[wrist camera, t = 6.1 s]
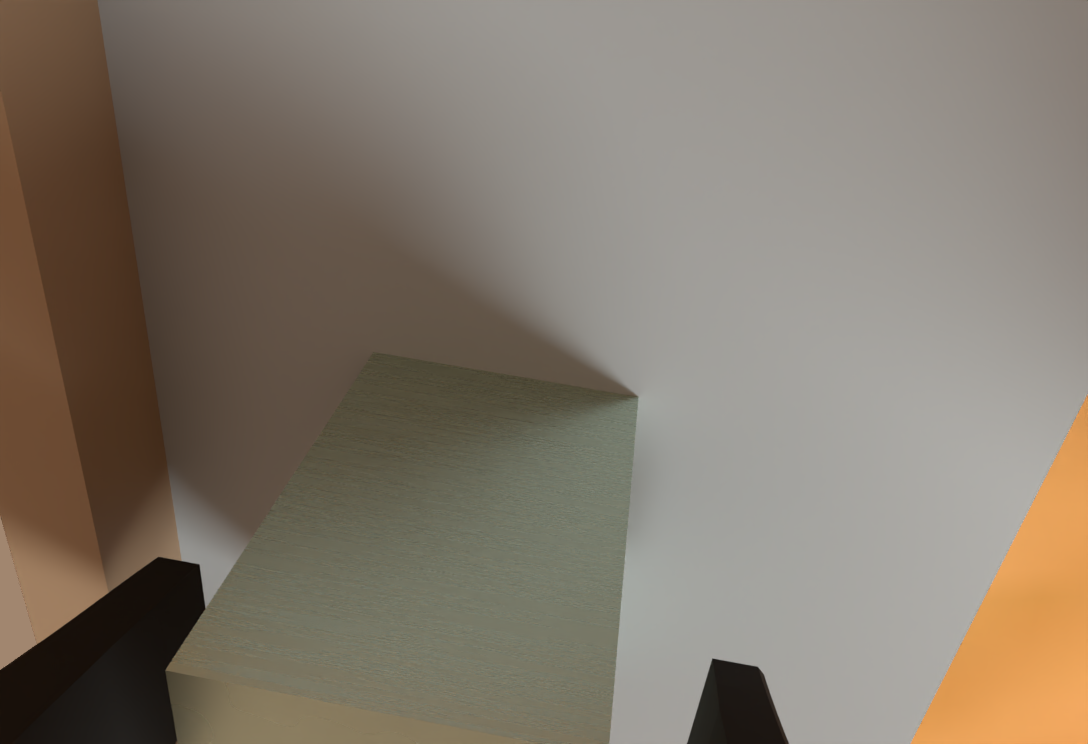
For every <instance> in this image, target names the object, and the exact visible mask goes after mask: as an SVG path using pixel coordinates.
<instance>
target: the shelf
mask: <svg viewBox="0 0 1088 744" xmlns="http://www.w3.org/2000/svg"><path fill="white" fill-rule="evenodd" d="M373 352H375V353H381V354H387V355H393V356H399V357H405V358H411V359H417V360H423V361H429V362H435V363H441V364H447V365H453V366H459V367H465V368H471V369H476V370H482V371H488V372H494V373H500V374H506V375H512V376H518V377H524V378H530V379H536V380H542V381H548V382H554V383H560V384H566V385H572V386H578V387H584V388H589V389H595V390H601V391H607V392H613V393H619V394H625V395H631V396H637V397H639V398H638V410H637V422H636V433H635V445H634V457H633V469H632V481H631V493H630V504H629V516H628V528H627V540H626V552H625V564H624V575H623V587H622V599H621V611H620V623H619V634H618V646H617V658H616V670H615V682H614V694H613V705H612V717H611V729H610V741H609V744H687V742H688V738H689V735H690V732H691V728H692V725H693V722H694V718H695V715H696V712H697V708H698V705H699V701H700V698H701V695H702V691H703V688H704V685H705V681H706V678H707V675H708V671H709V668H710V665H711V661H712V658H713V659H719V660H724V661H729V662H735V663H740V664H746V665H751V666H757V667H759V669H760V670H761V671H762V673H763V674H764V676H765V679H766V682H767V685H768V688H769V691H770V694H771V697H772V700H773V703H774V706H775V708H776V711H777V714H778V716H779V719H780V722H781V724H782V727H783V730H784V732H785V735H786V737H787V740H788V742H789V744H910V743H911V741H912V739H913V737H914V735H915V733H916V731H917V729H918V727H919V726H920V724H921V722H922V720H923V718H924V716H925V714H926V712H927V710H928V708H929V706H930V704H931V702H932V700H933V698H934V696H935V694H936V692H937V690H938V688H939V686H940V684H941V682H942V680H943V678H944V676H945V674H946V672H947V670H948V668H949V666H950V664H951V662H952V660H953V658H954V657H955V655H956V653H957V651H958V649H959V647H960V645H961V643H962V641H963V639H964V637H965V635H966V633H967V631H968V629H969V627H970V625H971V623H972V621H973V619H974V617H975V615H976V613H977V611H978V609H979V607H980V605H981V603H982V601H983V599H984V597H985V595H986V593H987V591H988V589H989V587H990V586H991V584H992V582H993V580H994V578H995V576H996V574H997V572H998V570H999V568H1000V566H1001V564H1002V562H1003V560H1004V558H1005V556H1006V554H1007V552H1008V550H1009V548H1010V546H1011V544H1012V542H1013V540H1014V538H1015V536H1016V534H1017V532H1018V530H1019V528H1020V526H1021V524H1022V522H1023V520H1024V518H1025V516H1026V515H1027V513H1028V511H1029V509H1030V507H1031V505H1032V503H1033V501H1034V499H1035V497H1036V495H1037V493H1038V491H1039V489H1040V487H1041V485H1042V483H1043V481H1044V479H1045V477H1046V475H1047V473H1048V471H1049V469H1050V467H1051V465H1052V463H1053V461H1054V459H1055V457H1056V455H1057V453H1058V451H1059V449H1060V447H1061V445H1062V444H1063V442H1064V440H1065V438H1066V436H1067V434H1068V432H1069V430H1070V428H1071V426H1072V424H1073V422H1074V420H1075V418H1076V416H1077V414H1078V412H1079V410H1080V408H1081V406H1082V404H1083V402H1084V400H1085V398H1086V396H1087V394H1088V0H0V516H1V520H2V523H3V527H4V530H5V534H6V537H7V541H8V544H9V548H10V551H11V555H12V558H13V562H14V565H15V569H16V572H17V576H18V579H19V583H20V587H21V590H22V594H23V597H24V600H25V604H26V608H27V611H28V614H29V618H30V622H31V625H32V628H33V632H34V636H35V639H36V642H37V644H38V643H40V642H41V641H42V640H44V639H45V638H47V637H48V636H49V635H51V634H52V633H54V632H55V631H57V630H58V629H59V628H61V627H62V626H63V625H65V624H66V623H68V622H69V621H70V620H72V619H73V618H74V617H76V616H77V615H79V614H80V613H81V612H83V611H84V610H85V609H87V608H88V607H90V606H91V605H92V604H94V603H95V602H96V601H98V600H99V599H100V598H102V597H103V596H105V595H106V594H107V593H109V592H110V591H111V590H113V589H114V588H115V587H117V586H118V585H119V584H121V583H122V582H124V581H125V580H126V579H128V578H129V577H130V576H132V575H133V574H135V573H136V572H137V571H139V570H140V569H142V568H143V567H144V566H146V565H147V564H149V563H150V562H151V561H153V560H154V559H156V558H157V557H163V558H168V559H174V560H179V561H185V562H190V563H195V564H200V571H201V579H202V586H203V593H204V601H205V608H206V607H207V606H208V604H209V603H210V601H211V600H212V598H213V597H214V595H215V593H216V592H217V590H218V589H219V587H220V586H221V584H222V583H223V581H224V580H225V578H226V577H227V575H228V574H229V572H230V571H231V569H232V568H233V566H234V564H235V563H236V561H237V560H238V558H239V557H240V555H241V554H242V552H243V551H244V549H245V548H246V546H247V545H248V543H249V542H250V540H251V538H252V537H253V535H254V534H255V532H256V531H257V529H258V528H259V526H260V525H261V523H262V522H263V520H264V519H265V517H266V516H267V514H268V513H269V511H270V509H271V508H272V506H273V505H274V503H275V502H276V500H277V499H278V497H279V496H280V494H281V493H282V491H283V490H284V488H285V487H286V485H287V484H288V482H289V480H290V479H291V477H292V476H293V474H294V473H295V471H296V470H297V468H298V467H299V465H300V464H301V462H302V461H303V459H304V458H305V456H306V454H307V453H308V451H309V450H310V448H311V447H312V445H313V444H314V442H315V441H316V439H317V438H318V436H319V435H320V433H321V432H322V430H323V429H324V427H325V425H326V424H327V422H328V421H329V419H330V418H331V416H332V415H333V413H334V412H335V410H336V409H337V407H338V406H339V404H340V403H341V401H342V399H343V398H344V396H345V395H346V393H347V392H348V390H349V389H350V387H351V386H352V384H353V383H354V381H355V380H356V378H357V377H358V375H359V374H360V372H361V370H362V369H363V367H364V366H365V364H366V363H367V361H368V360H369V358H370V357H371V355H372V354H373ZM175 744H178V742H176V743H175Z"/></svg>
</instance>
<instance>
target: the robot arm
mask: <svg viewBox="0 0 1088 744" xmlns="http://www.w3.org/2000/svg"><path fill="white" fill-rule="evenodd" d="M205 609H206V608H205V601H204V593H203V586H202V579H201V571H200V564H195V563H190V562H185V561H179V560H174V559H168V558H163V557H157V558H156V559H154V560H153V561H151V562H150V563H149V564H147V565H146V566H144V567H143V568H142V569H140V570H139V571H137V572H136V573H135V574H133V575H132V576H130V577H129V578H128V579H126V580H125V581H124V582H122V583H121V584H119V585H118V586H117V587H115V588H114V589H113V590H111V591H110V592H109V593H107V594H106V595H105V596H103V597H102V598H100V599H99V600H98V601H96V602H95V603H94V604H92V605H91V606H90V607H88V608H87V609H85V610H84V611H83V612H81V613H80V614H79V615H77V616H76V617H74V618H73V619H72V620H70V621H69V622H68V623H66V624H65V625H63V626H62V627H61V628H59V629H58V630H57V631H55V632H54V633H52V634H51V635H49V636H48V637H47V638H45V639H44V640H42V641H41V642H40V643H38V644H37V645H35V646H34V647H32V648H31V649H30V650H28V651H27V652H25V653H24V654H23V655H21V656H20V657H18V658H17V659H15V660H14V661H13V662H11V663H10V664H8V665H7V666H5V667H4V668H3V669H1V670H0V744H175V743H176V742H177V737H176V731H175V725H174V719H173V713H172V707H171V701H170V696H169V690H168V684H167V678H166V672H165V670H166V668H167V667H168V665H169V664H170V662H171V661H172V659H173V658H174V656H175V655H176V653H177V652H178V650H179V648H180V647H181V645H182V644H183V642H184V641H185V639H186V638H187V636H188V635H189V633H190V632H191V630H192V629H193V627H194V626H195V624H196V623H197V621H198V619H199V618H200V616H201V615H202V613H203V612H204V610H205ZM687 744H789V742H788V740H787V737H786V735H785V732H784V730H783V727H782V724H781V722H780V719H779V716H778V714H777V711H776V708H775V706H774V703H773V700H772V697H771V694H770V691H769V688H768V685H767V682H766V679H765V676H764V674H763V673H762V671H761V670H760V669H759V667H757V666H751V665H746V664H740V663H735V662H729V661H724V660H719V659H713V658H712V661H711V665H710V668H709V671H708V675H707V678H706V681H705V685H704V688H703V691H702V695H701V698H700V701H699V705H698V708H697V712H696V715H695V718H694V722H693V725H692V728H691V732H690V735H689V738H688V742H687Z"/></svg>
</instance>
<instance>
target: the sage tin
mask: <svg viewBox="0 0 1088 744" xmlns="http://www.w3.org/2000/svg"><path fill="white" fill-rule="evenodd" d="M638 398H639V397H637V396H631V395H625V394H619V393H613V392H607V391H601V390H595V389H589V388H584V387H578V386H572V385H566V384H560V383H554V382H548V381H542V380H536V379H530V378H524V377H518V376H512V375H506V374H500V373H494V372H488V371H482V370H476V369H471V368H465V367H459V366H453V365H447V364H441V363H435V362H429V361H423V360H417V359H411V358H405V357H399V356H393V355H387V354H381V353H375V352H373V354H372V355H371V357H370V358H369V360H368V361H367V363H366V364H365V366H364V367H363V369H362V370H361V372H360V374H359V375H358V377H357V378H356V380H355V381H354V383H353V384H352V386H351V387H350V389H349V390H348V392H347V393H346V395H345V396H344V398H343V399H342V401H341V403H340V404H339V406H338V407H337V409H336V410H335V412H334V413H333V415H332V416H331V418H330V419H329V421H328V422H327V424H326V425H325V427H324V429H323V430H322V432H321V433H320V435H319V436H318V438H317V439H316V441H315V442H314V444H313V445H312V447H311V448H310V450H309V451H308V453H307V454H306V456H305V458H304V459H303V461H302V462H301V464H300V465H299V467H298V468H297V470H296V471H295V473H294V474H293V476H292V477H291V479H290V480H289V482H288V484H287V485H286V487H285V488H284V490H283V491H282V493H281V494H280V496H279V497H278V499H277V500H276V502H275V503H274V505H273V506H272V508H271V509H270V511H269V513H268V514H267V516H266V517H265V519H264V520H263V522H262V523H261V525H260V526H259V528H258V529H257V531H256V532H255V534H254V535H253V537H252V538H251V540H250V542H249V543H248V545H247V546H246V548H245V549H244V551H243V552H242V554H241V555H240V557H239V558H238V560H237V561H236V563H235V564H234V566H233V568H232V569H231V571H230V572H229V574H228V575H227V577H226V578H225V580H224V581H223V583H222V584H221V586H220V587H219V589H218V590H217V592H216V593H215V595H214V597H213V598H212V600H211V601H210V603H209V604H208V606H207V607H206V609H205V610H204V612H203V613H202V615H201V616H200V618H199V619H198V621H197V623H196V624H195V626H194V627H193V629H192V630H191V632H190V633H189V635H188V636H187V638H186V639H185V641H184V642H183V644H182V645H181V647H180V648H179V650H178V652H177V653H176V655H175V656H174V658H173V659H172V661H171V662H170V664H169V665H168V667H167V668H166V670H165V672H166V678H167V684H168V690H169V696H170V701H171V707H172V713H173V719H174V725H175V731H176V737H177V742H178V744H609V741H610V729H611V717H612V705H613V694H614V682H615V670H616V658H617V646H618V634H619V623H620V611H621V599H622V587H623V575H624V564H625V552H626V540H627V528H628V516H629V504H630V493H631V481H632V469H633V457H634V445H635V433H636V422H637V410H638Z"/></svg>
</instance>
